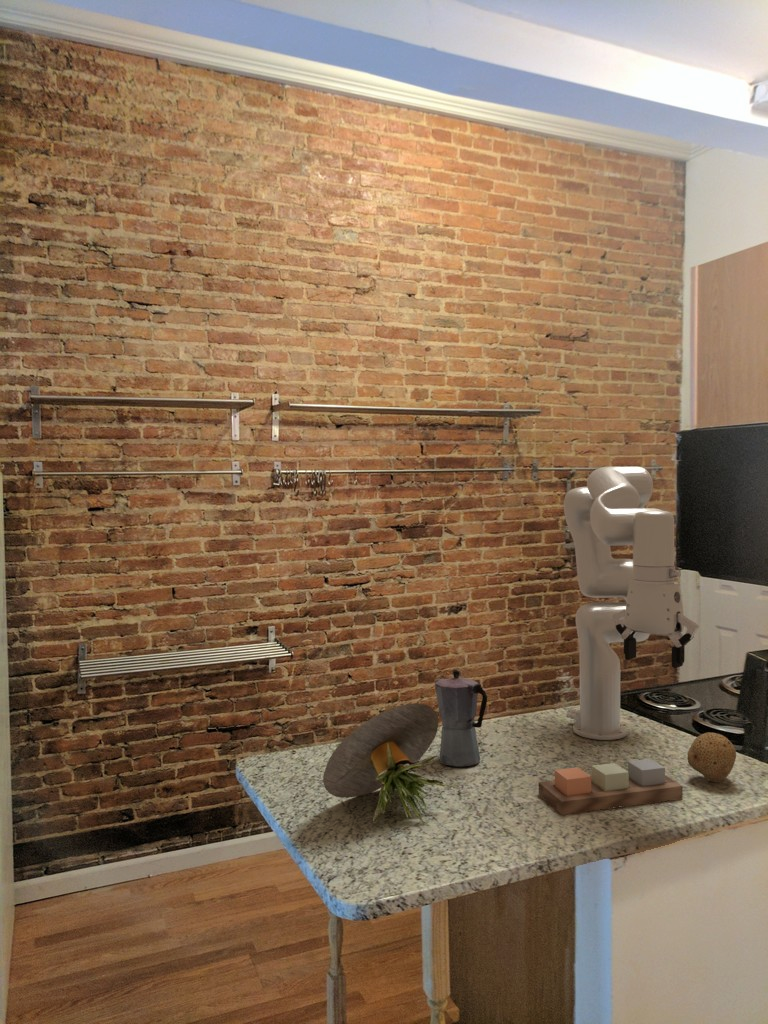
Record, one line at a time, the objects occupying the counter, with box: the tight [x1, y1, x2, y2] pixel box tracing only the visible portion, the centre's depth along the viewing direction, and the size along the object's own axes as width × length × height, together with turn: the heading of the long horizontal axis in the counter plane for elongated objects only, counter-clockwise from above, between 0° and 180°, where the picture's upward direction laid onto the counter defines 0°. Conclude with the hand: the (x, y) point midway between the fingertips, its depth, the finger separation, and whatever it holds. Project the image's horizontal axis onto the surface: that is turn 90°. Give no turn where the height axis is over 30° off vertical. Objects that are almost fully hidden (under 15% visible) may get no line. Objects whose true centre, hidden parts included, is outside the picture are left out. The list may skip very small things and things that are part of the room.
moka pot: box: [434, 669, 488, 767], centre depth 172 cm, size 10×15×20 cm, turn 44°
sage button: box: [591, 762, 629, 791], centre depth 153 cm, size 5×5×4 cm
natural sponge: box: [686, 731, 737, 784], centre depth 160 cm, size 9×9×10 cm
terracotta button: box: [554, 767, 592, 796], centre depth 151 cm, size 5×5×4 cm
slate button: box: [627, 758, 666, 786], centre depth 155 cm, size 5×5×4 cm
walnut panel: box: [538, 775, 684, 816], centre depth 153 cm, size 26×10×2 cm, turn 105°
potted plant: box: [322, 703, 455, 825], centre depth 146 cm, size 25×18×25 cm
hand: (653, 662), depth 152 cm, fingers open, 9 cm apart
